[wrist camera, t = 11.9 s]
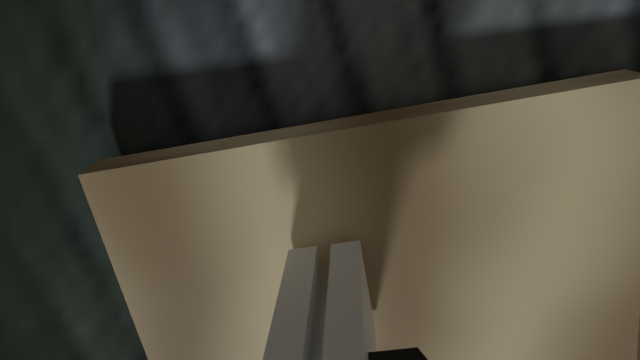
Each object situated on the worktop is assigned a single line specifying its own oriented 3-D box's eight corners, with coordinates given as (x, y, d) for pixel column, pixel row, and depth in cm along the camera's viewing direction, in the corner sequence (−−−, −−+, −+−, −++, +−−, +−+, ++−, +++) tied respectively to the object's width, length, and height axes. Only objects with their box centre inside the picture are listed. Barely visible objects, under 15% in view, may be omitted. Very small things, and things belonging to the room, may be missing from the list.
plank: (188, 407, 16) (178, 438, 15) (99, 160, 13) (77, 174, 12) (612, 352, 15) (635, 380, 14) (624, 68, 12) (654, 75, 11)
